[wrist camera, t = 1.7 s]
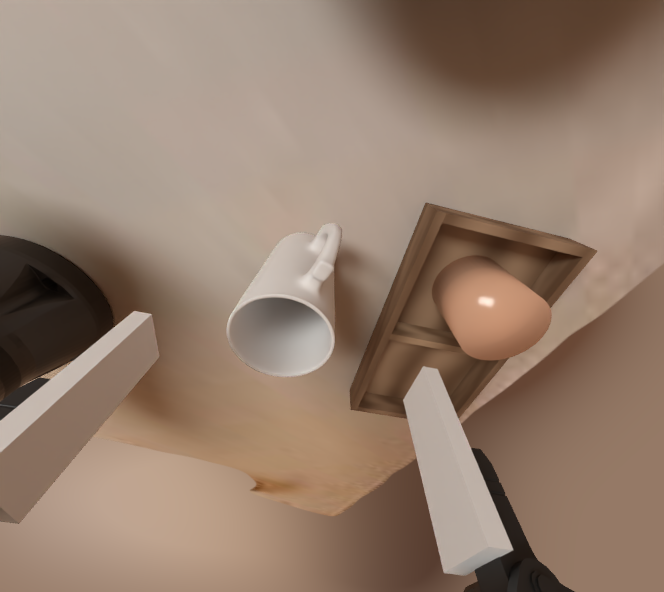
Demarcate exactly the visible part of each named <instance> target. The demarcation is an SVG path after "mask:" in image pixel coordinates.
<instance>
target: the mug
mask: <svg viewBox="0 0 664 592" xmlns="http://www.w3.org/2000/svg"><path fill="white" fill-rule="evenodd" d="M341 238H342V229H341V227H340V226H339V225H337V224H335V223H330V224H324V225H323V226H322V227H321V229H320V230H319V232H318V234H317V235H316V236H315V235H312V234H309V233H294V234H291V235H288V236H286V237H284V238H283V239H282V240H281V241H280V242H279V243H278V244H277V245H276V247H275V248H274V250H273V251H272V252H271V254H270V255H269V257H268V258H267V260H266V261H265V263H264V264H263V266H262V267H261V269H260V270H259V272H258V273H257V275H256V276H255V278H254V279H253V281H252V282H251V284H250V285H249V287H248V288H247V290H246V291H245V293H244V294H243V296H242V297H241V299H240V301H239V302H238V304H237V306H236V307H235V309H234V311H233V312H232V314H231V315H230V317H229V320H228V323H227V330H226V331H227V339H228V342H229V344H230V347H231V348H232V350H233V352H234V353H235V354H236V356H237V357H238V358H239V359H240V360H241V361H242V362H244V363H245V364H246V365H248V366H249V367H251V368H252V369H254V370H256V371H259V372H261V373H264V374H267V375H271V376H277V377H296V376H301V375H305V374H308V373H311V372H313V371H315V370H317V369H318V368H320V367H321V366H322V365H324V364H325V363H326V362H327V360H328V359H329V358H330V356H331V354H332V352H333V349H334V345H335V335H334V333H335V292H334V264H335V261H336V258H337V254H338V251H339V247H340V243H341Z"/></svg>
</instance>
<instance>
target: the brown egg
mask: <svg viewBox="0 0 664 592" xmlns="http://www.w3.org/2000/svg"><path fill="white" fill-rule="evenodd" d="M432 298H433V301H434V303H435V304H436V306H437V308H438V309H439V311H440V313H441V314H442V316H443V318H444V319H445V321H446V323H447V324H448V326H449V328H450V330H451V331H452V333H453V335H454V336H455V338H456V340H457V341H458V343H459V345H460V346H461V348H462V350H463V351H464V352H465V353H466V354H468V355H469V356H471V357H474V358H476V359H480V360H501V359H506V358H509V357H513V356H515V355H518V354H520V353H522V352H524V351H526V350H527V349H529V348H530V347H532V346H533V345H534V344H536V343H537V342H538V341H539V340H540V339H541V338H542V337H543V335H544V334H545V333H546V331H547V330H548V328H549V325H550V322H551V316H552V315H551V309H550V307H549V305H548V303H547V302H546V301H545V300H544V299H543V298H541V297H540V296H539V295H537V294H536V293H535V292H534V291H532V290H531V289H530V288H528V287H527V286H526V285H525V284H523V283H522V282H521V281H519V280H518V279H517V278H516V277H514V276H513V275H512V274H510V273H509V272H508V271H507V270H505V269H504V268H503V267H501V266H500V265H499V264H498V263H496V262H495V261H494V260H492V259H490V258H488V257H485V256H480V255H473V256H466V257H463V258H460V259H457V260H455V261H453V262H451V263H450V264H448V265H447V266H446V267H445V268H443V269H442V271H441V272H440V273H439V274H438V275H437V277H436V279H435V281H434V283H433V286H432Z"/></svg>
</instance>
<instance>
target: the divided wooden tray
mask: <svg viewBox="0 0 664 592" xmlns="http://www.w3.org/2000/svg"><path fill="white" fill-rule="evenodd" d="M596 252H597V250H594V249H592V248H590V247H587V246H585V245H583V244H580V243H578V242H576V241H573V240H571V239H568V238H564V237H560V236H556V235H552V234H549V233H545V232H541V231H537V230H533V229H529V228H525V227H521V226H517V225H513V224H509V223H505V222H501V221H497V220H493V219H489V218H485V217H481V216H477V215H473V214H469V213H465V212H461V211H457V210H453V209H449V208H445V207H441V206H437V205H433V204H429V203H425V206H424V208H423V211H422V213H421V216H420V218H419V220H418V223H417V225H416V228H415V230H414V233H413V235H412V238H411V240H410V243H409V245H408V248H407V250H406V253H405V255H404V257H403V260H402V262H401V265H400V267H399V270H398V272H397V275H396V277H395V280H394V282H393V285H392V287H391V290H390V292H389V294H388V297H387V299H386V302H385V304H384V307H383V309H382V312H381V314H380V317H379V319H378V322H377V324H376V327H375V329H374V331H373V334H372V336H371V339H370V341H369V344H368V346H367V349H366V351H365V354H364V356H363V359H362V361H361V364H360V366H359V368H358V371H357V373H356V376H355V378H354V381H353V383H352V386H351V388H350V405H351V410H357V411H363V412H369V413H375V414H381V415H388V416H394V417H400V418H406V419H407V414H406V410H405V406H404V402H403V399H404V398H405V396H406V394H407V393H408V391H409V389H410V388H411V386H412V384H413V383H414V381H415V379H416V378H417V376H418V374H419V373H420V371H421V369H422V367H423V366H425V367H430V368H435V369H438V371H439V374H440V376H441V378H442V381H443V383H444V386H445V388H446V390H447V393H448V395H449V397H450V400H451V402H452V405H453V407H454V409H455V412H456V414H457V417H458V419H459V418H460V416H461V415H462V414H463V413H464V412H465V410H466V409H467V408H468V407H469V405H470V404H471V403H472V402H473V401H474V399H475V398H476V397H477V396H478V395H479V393H480V392H481V391H482V390H483V389H484V387H485V386H486V385H487V384H488V383H489V381H490V380H491V379H492V378H493V377H494V375H495V374H496V373H497V372H498V371H499V369H500V368H501V367H502V366H503V365H504V363H505V362H506V361H507V360H508V358H506V359H501V360H480V359H476V358H474V357H471V356H469V355H468V354H466V353H465V352H464V351H463V350H462V348H461V346H460V345H459V343H458V341H457V340H456V338H455V336H454V335H453V333H452V331H451V330H450V328H449V326H448V324H447V323H446V321H445V319H444V318H443V316H442V314H441V313H440V311H439V309H438V308H437V306H436V304H435V303H434V301H433V298H432V286H433V283H434V281H435V279H436V277H437V275H438V274H439V273H440V272H441V271H442V269H443V268H445V267H446V266H447V265H448V264H450V263H451V262H453V261H455V260H457V259H460V258H463V257H466V256H473V255H480V256H485V257H488V258H490V259H492V260H494V261H495V262H496V263H498V264H499V265H500V266H501V267H503V268H504V269H505V270H507V271H508V272H509V273H510V274H512V275H513V276H514V277H516V278H517V279H518V280H519V281H521V282H522V283H523V284H525V285H526V286H527V287H528V288H530V289H531V290H532V291H534V292H535V293H536V294H537V295H539V296H540V297H541V298H543V299H544V300H545V301H546V302H547V303H548V305H549V307H550V308H551V307H552V305H553V304H554V303H555V302H556V301H557V299H558V298H559V297H560V296H561V295H562V293H563V292H564V291H565V290H566V289H567V287H568V286H569V285H570V284H571V283H572V281H573V280H574V279H575V278H576V277H577V275H578V274H579V273H580V272H581V270H582V269H583V268H584V267H585V266H586V264H587V263H588V262H589V261H590V260H591V258H592V257H593V256H594V255H595V254H596Z"/></svg>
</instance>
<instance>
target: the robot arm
mask: <svg viewBox="0 0 664 592" xmlns="http://www.w3.org/2000/svg"><path fill="white" fill-rule="evenodd" d="M112 327H113V318H112V313H111V310H110V307H109V305H108V303H107V301H106V299H105V298H104V296H103V294H102V293H101V292H100V290H99V289H98V288H97V287H96V285H95V284H94V283H93V282H92V281H91V280H90V279H89V278H88V277H87V276H86V275H85V274H84V273H83V272H82V271H80V270H79V269H78V268H77V267H75V266H74V265H73V264H71V263H70V262H69V261H67V260H66V259H64V258H62V257H61V256H59V255H57V254H56V253H54V252H52V251H50V250H48V249H46V248H44V247H42V246H40V245H37V244H35V243H32V242H29V241H26V240H23V239H19V238H15V237H10V236H3V235H0V521H1V522H10V523H18V524H19V523H20V522H21V521H22V520H23V518H24V517H25V516H26V515H27V514H28V512H29V511H30V510H31V509H32V508H33V507H34V505H35V504H36V503H37V502H38V501H39V499H40V498H41V497H42V496H43V494H44V493H45V492H46V491H47V490H48V489H49V488H50V486H51V485H52V484H53V482H55V480H56V479H57V478H58V477H59V475H60V474H61V473H62V472H63V471H64V470H65V469H66V467H67V466H68V465H69V464H70V463H71V461H72V460H73V459H74V458H75V457H76V455H77V454H78V453H79V452H80V451H81V450H82V448H83V447H84V446H85V445H86V444H87V442H88V441H89V440H90V439H91V438H92V436H93V435H94V434H95V433H96V432H97V431H98V429H99V428H100V427H101V426H102V425H103V423H104V422H105V421H106V420H107V419H108V417H109V416H110V415H111V414H112V413H113V412H114V410H115V409H116V408H117V407H118V406H119V404H120V403H121V402H122V401H123V400H124V398H125V397H126V396H127V395H128V394H129V393H130V391H131V390H132V389H133V388H134V387H135V385H136V384H137V383H138V382H139V381H140V379H141V378H142V377H143V376H144V375H145V374H146V372H147V371H148V370H149V369H150V368H151V366H152V365H153V364H154V363H155V362H156V360H157V359H158V358H159V357H160V356H159V350H158V345H157V339H156V334H155V329H154V323H153V318H152V314H149V313H143V312H138V311H133V312H132V313H131V314H130V315H129V316H127V317H126V318H125V319H124V320H122V321H121V322H120V323H119V324H118V325H116V326H115V327H114V328H113V329H112ZM70 361H73V362H71V363H70V364H69V365H68V366H66V367H65V368H64V369H63V370H62V371H60V372H59V373H58V374H57V375H55V376H54V377H53V378H52V379H46V378H40V376H42V375H44V374H47V373H49V372H51V371H53V370H55V369H57V368H59V367H61V366H63V365H65V364H67V363H68V362H70ZM38 377H39V378H38ZM36 378H37V379H36ZM33 379H35V380H34V381H32V382H30V383H28V384H26V385H24V384H25V383H27V382H29V381H31V380H33ZM22 385H24V386H22ZM21 386H22V387H21ZM403 402H404V406H405V410H406V414H407V419H408V423H409V427H410V431H411V435H412V440H413V444H414V448H415V452H416V457H417V461H418V465H419V469H420V473H421V478H422V482H423V486H424V490H425V495H426V498H427V503H428V507H429V512H430V515H431V520H432V524H433V528H434V533H435V537H436V541H437V545H438V550H439V553H440V558H441V562H442V566H443V570H444V573H449V574H457V575H467V574H469V573H471V572H473V571H475V573H476V576H477V580H478V581H477V582H475V583H473V584H471V585H469V586H467V587H466V588H465V590H464V592H574V591H572V590H571V589H569V588H567V587H565V586H563V585H562V584H561V583H559V581H558V579H557V578H556V577H555V575H554V574H553V573H552V572H551V571H550V570H549V569H548V568H547V567H546V566H544V565H543V564H542V563H541V562H539V561H538V560H537V558H536V557H535V555H534V553H533V552H532V550H531V548H530V546H529V543H528V541H527V539H526V537H525V535H524V533H523V531H522V528H521V526H520V524H519V522H518V520H517V517H516V515H515V513H514V512H513V509H512V507H511V505H510V502H509V500H508V498H507V496H505V492H504V489H503V487H502V485H501V483H499V479H498V477H497V474H496V472H495V470H494V468H493V466H492V464H491V463H490V461H489V460H488V458H487V457H486V456H485V454H484V453H483V452H482V451H481V450H480V449H475V448H470V445H469V443H468V440H467V438H466V436H465V433H464V431H463V429H462V426H461V424H460V421H459V419H458V417H457V414H456V412H455V409H454V407H453V405H452V402H451V400H450V397H449V395H448V393H447V390H446V388H445V386H444V383H443V381H442V378H441V376H440V374H439V371H438V369H435V368H430V367H425V366H423V367H422V369H421V371H420V373H419V374H418V376H417V378H416V379H415V381H414V383H413V384H412V386H411V388H410V389H409V391H408V393H407V394H406V396H405V398H404V399H403Z"/></svg>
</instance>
